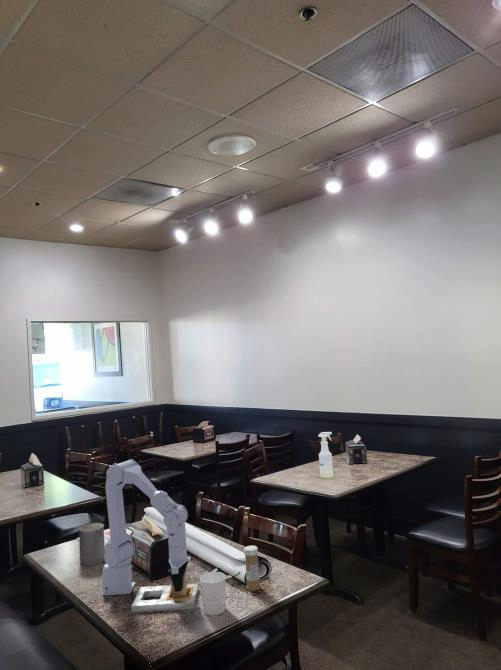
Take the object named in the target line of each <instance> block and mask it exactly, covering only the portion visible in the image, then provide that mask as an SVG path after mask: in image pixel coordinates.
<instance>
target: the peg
mask: <svg viewBox="0 0 501 670" xmlns="http://www.w3.org/2000/svg"><path fill="white" fill-rule="evenodd" d="M169 577H170V576H169ZM169 581H170V585H171V596H172V598H180V597H188V595H187V584H188V583H187V570H186V571H185V573H184V577H183V586H182V591H178V592H175V590H174V586H173V582H172V579H171V577H170V580H169Z"/></svg>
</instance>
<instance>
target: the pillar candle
mask: <svg viewBox="0 0 501 670" xmlns="http://www.w3.org/2000/svg"><path fill="white" fill-rule="evenodd" d="M104 527H105V524H103V523H101V522H93V523H92V522H91V523H87V524H84V525H81V526H80V527H79V528H78V533H79V534H78V535H79V536H78V538H79V539H78V540H79V542H78V543H79V564H80V565H81V566H83V567H93V566H96V565H99V564H101V563H103V562H105V559H104V554H105V549H106V548H105V545H106V543H105V528H104ZM92 565H93V566H92Z"/></svg>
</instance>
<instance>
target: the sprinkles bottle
mask: <svg viewBox="0 0 501 670" xmlns="http://www.w3.org/2000/svg"><path fill="white" fill-rule="evenodd" d="M243 551H244V552H243V553H244V557H245V559H244V560H245V578H246V579H245V580H246V590H247V591H250V592H254V591H257V590H259V589H260V588H261V585H260V570H259V568H260V567H259V557H258V555H259V554H258V553H259V549H258V547H257V546H256V545H247V546H246V547H244V549H243Z"/></svg>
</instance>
